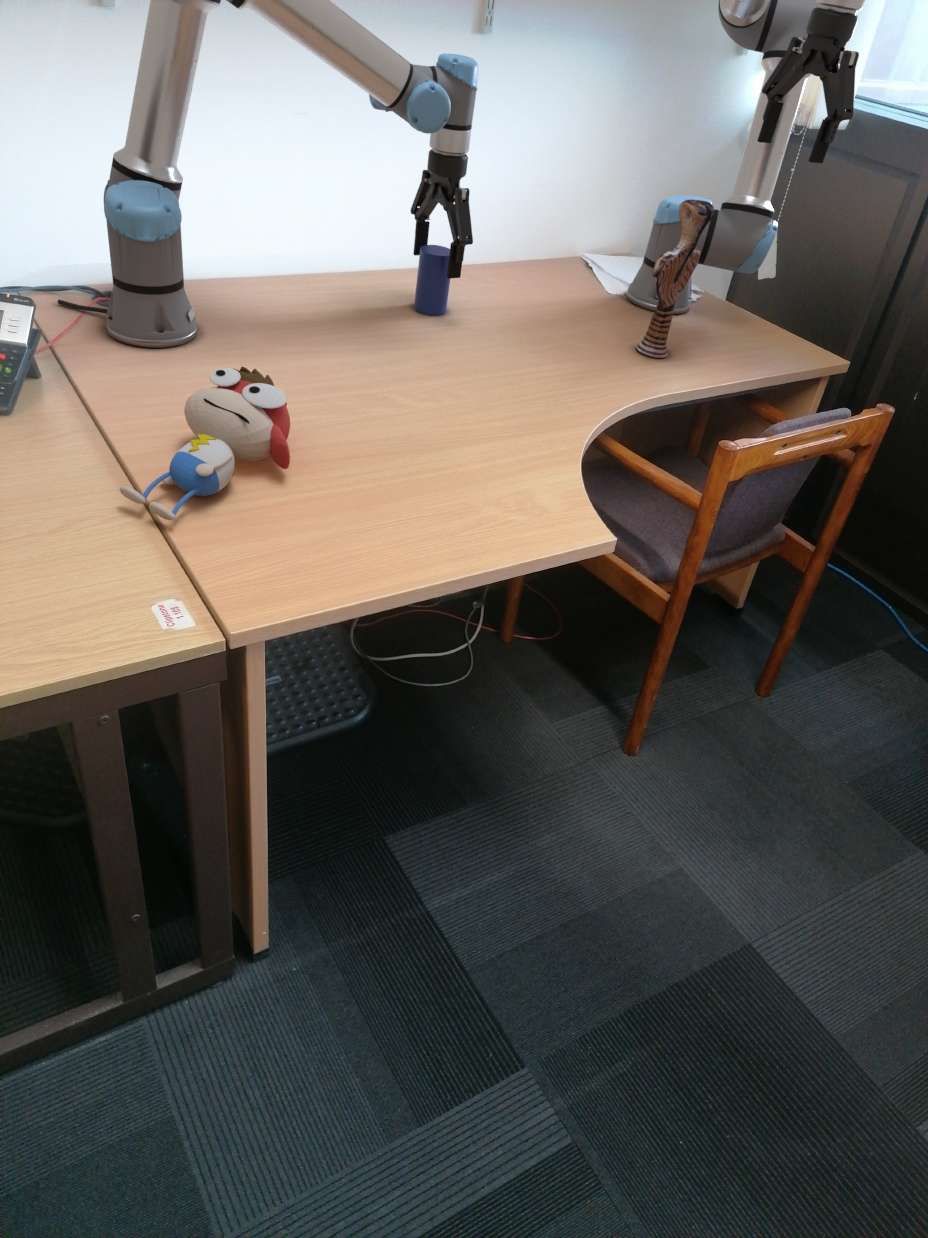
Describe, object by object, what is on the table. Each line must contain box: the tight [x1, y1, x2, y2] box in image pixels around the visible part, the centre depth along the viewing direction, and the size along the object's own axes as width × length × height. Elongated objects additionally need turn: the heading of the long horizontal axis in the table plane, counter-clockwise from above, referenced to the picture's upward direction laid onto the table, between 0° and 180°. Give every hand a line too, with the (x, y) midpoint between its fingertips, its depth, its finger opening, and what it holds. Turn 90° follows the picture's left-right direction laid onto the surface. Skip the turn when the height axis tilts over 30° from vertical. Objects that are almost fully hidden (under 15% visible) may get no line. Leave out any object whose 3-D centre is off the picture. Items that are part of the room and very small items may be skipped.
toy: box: [119, 366, 291, 521], centre depth 123 cm, size 18×10×30 cm
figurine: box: [635, 199, 715, 359], centre depth 176 cm, size 15×8×30 cm, turn 144°
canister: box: [413, 244, 451, 317], centre depth 182 cm, size 7×7×12 cm
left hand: (436, 265), depth 181 cm, fingers open, 13 cm apart
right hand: (788, 151), depth 158 cm, fingers open, 13 cm apart
